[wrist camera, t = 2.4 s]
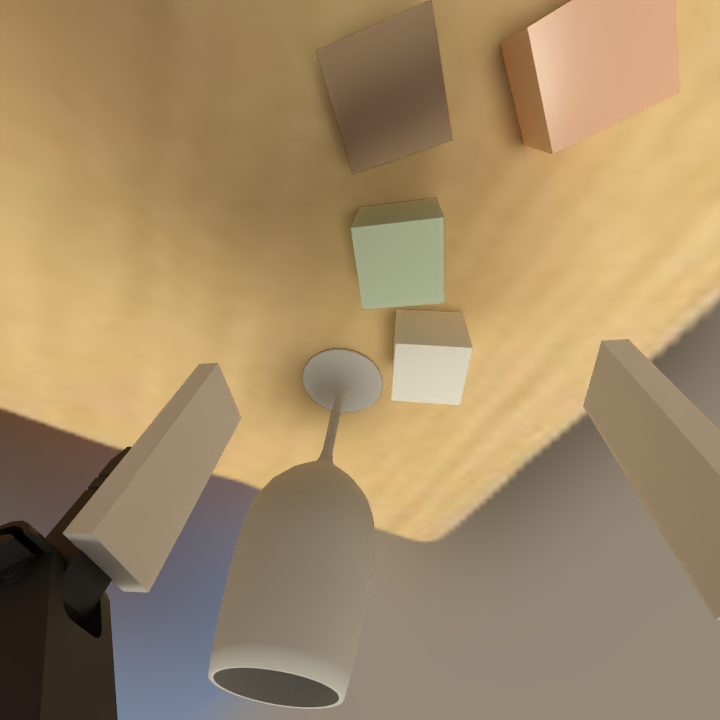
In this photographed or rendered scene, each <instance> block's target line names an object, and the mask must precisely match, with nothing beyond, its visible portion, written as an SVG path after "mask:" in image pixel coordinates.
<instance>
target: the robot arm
mask: <svg viewBox="0 0 720 720" xmlns="http://www.w3.org/2000/svg"><path fill="white" fill-rule="evenodd" d="M583 407H584V408H585V410H586V412H587V413H588V415H589V416H590V418H591V420H592V421H593V423H594V425H595V426H596V428H597V429H598V431H599V433H600V434H601V436H602V437H603V439H604V440H605V442H606V444H607V445H608V447H609V449H610V450H611V452H612V454H613V455H614V457H615V458H616V460H617V461H618V463H619V465H620V467H621V468H622V470H623V471H624V473H625V475H626V476H627V478H628V479H629V481H630V483H631V484H632V486H633V487H634V489H635V491H636V492H637V494H638V496H639V497H640V499H641V500H642V502H643V504H644V505H645V507H646V508H647V510H648V512H649V513H650V515H651V517H652V518H653V520H654V521H655V523H656V525H657V526H658V528H659V530H660V531H661V533H662V534H663V536H664V538H665V539H666V541H667V542H668V544H669V546H670V547H671V549H672V550H673V552H674V554H675V555H676V557H677V559H678V560H679V562H680V563H681V565H682V567H683V568H684V570H685V572H686V573H687V575H688V576H689V578H690V580H691V581H692V583H693V584H694V585H695V588H696V589H697V591H698V592H699V594H700V596H701V597H702V599H703V600H704V602H705V604H706V605H707V607H708V608H709V610H710V612H711V614H712V615H713V617H714V618H715V620H719V621H720V430H719V429H718V428H717V427H716V426H715V425H714V424H713V423H712V422H711V421H709V420H708V418H707V417H706V416H705V415H704V414H703V413H702V412H701V411H699V410H698V408H696V406H695V405H693V403H692V402H690V401H689V399H688V398H687V397H685V396H684V395H683V394H682V393H681V392H680V391H679V389H677V388H676V387H675V386H674V385H673V384H672V383H671V382H670V381H669V380H668V379H667V378H666V377H665V376H664V375H663V374H662V373H661V372H660V371H659V370H658V369H657V368H656V367H655V366H654V365H653V364H652V363H651V362H650V361H649V360H648V359H647V358H646V357H645V356H644V355H643V354H642V353H641V352H640V351H639V350H638V349H637V348H636V347H635V346H634V345H633V344H632V343H631V342H630V341H629V340H628V339H625V340H608V341H601V345H600V348H599V352H598V356H597V359H596V363H595V366H594V370H593V373H592V377H591V381H590V384H589V388H588V391H587V395H586V398H585V402H584V406H583ZM240 419H241V416H240V413H239V411H238V409H237V406H236V404H235V401H234V399H233V397H232V394H231V392H230V390H229V387H228V385H227V383H226V380H225V378H224V376H223V373H222V371H221V369H220V366H219V364H218V363H209V364H199V365H198V366H197V368H196V369H195V370H194V371H193V372H192V374H191V375H190V376H189V377H188V379H187V380H186V381H185V382H184V384H183V385H182V386H181V387H180V389H179V390H178V391H177V392H176V393H175V395H174V396H173V397H172V398H171V400H170V401H169V402H168V403H167V405H166V406H165V407H164V408H163V410H162V411H161V412H160V413H159V414H158V416H157V417H156V418H155V419H154V421H153V422H152V423H151V424H150V426H149V427H148V428H147V429H146V431H145V432H144V433H143V434H142V435H141V437H140V438H139V439H138V440H137V442H136V443H135V444H134V445H133V447H127V448H126V449H124V450H123V451H122V452H121V453H119V454H118V455H117V456H115V457H114V458H113V459H112V460H111V461H110V462H109V463H108V464H107V465H106V466H105V468H104V469H103V470H102V471H101V472H100V474H99V477H98V478H95V480H94V481H93V482H92V483H91V485H90V486H89V487H88V490H85V492H84V493H83V494H82V495H81V496H80V498H79V499H78V500H77V501H76V502H75V503H74V505H73V506H72V507H71V508H70V509H69V511H68V512H67V513H66V514H65V515H64V517H63V518H62V519H61V520H60V521H59V523H58V524H57V525H56V526H55V527H54V528H53V530H52V531H51V532H50V533H49V534H48V536H47V537H46V538H44V537H43V536H42V535H41V534H40V533H39V532H38V531H36V530H35V529H34V528H33V527H32V526H31V525H30V524H29V523H26V522H24V521H13V522H10V523H7V524H5V525H2V526H0V720H117V706H116V691H115V676H114V661H113V647H112V631H111V616H110V601H109V598H108V595H107V593H105V590H106V588H107V587H108V585H109V583H110V582H111V580H112V581H113V582H114V583H115V584H116V585H117V586H118V587H119V588H120V589H121V590H122V591H132V592H149V591H150V589H151V587H152V585H153V583H154V581H155V580H156V578H157V576H158V574H159V572H160V570H161V568H162V566H163V564H164V563H165V561H166V559H167V557H168V555H169V553H170V551H171V549H172V547H173V545H174V544H175V542H176V540H177V538H178V536H179V534H180V532H181V530H182V528H183V527H184V525H185V523H186V521H187V519H188V517H189V515H190V513H191V512H192V510H193V508H194V506H195V504H196V502H197V500H198V498H199V496H200V495H201V493H202V491H203V489H204V487H205V485H206V483H207V481H208V479H209V478H210V476H211V474H212V472H213V470H214V468H215V466H216V464H217V462H218V461H219V459H220V457H221V455H222V453H223V451H224V449H225V447H226V445H227V444H228V442H229V440H230V438H231V436H232V434H233V432H234V430H235V428H236V426H237V425H238V423H239V421H240Z"/></svg>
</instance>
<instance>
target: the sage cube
mask: <svg viewBox="0 0 720 720" xmlns="http://www.w3.org/2000/svg"><path fill="white" fill-rule="evenodd" d="M351 234H352V241H353V248H354V255H355V261H356V268H357V275H358V282H359V289H360V295H361V302H362V309H363V310H364V309H377V308H389V307H402V306H415V305H427V304H440V303H444V216H443V214H442V211H441V208H440V206H439V203H438V200H437V198H430V199H422V200H414V201H406V202H398V203H390V204H382V205H374V206H365V207H359V209H358V211H357V214H356V216H355V219H354V221H353V224H352V226H351Z"/></svg>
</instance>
